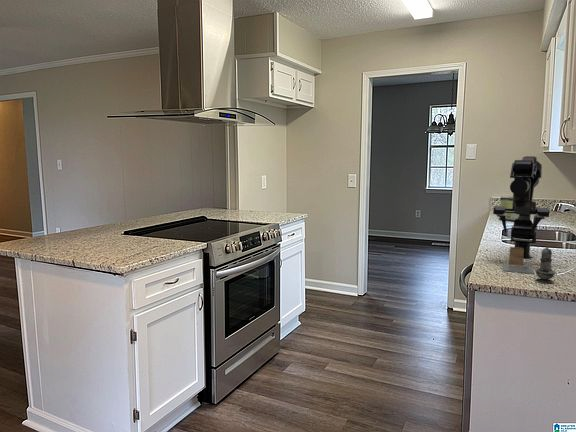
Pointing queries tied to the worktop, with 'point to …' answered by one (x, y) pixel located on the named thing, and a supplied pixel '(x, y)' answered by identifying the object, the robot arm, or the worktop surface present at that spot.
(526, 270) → the slate coaster
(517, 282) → the worktop surface
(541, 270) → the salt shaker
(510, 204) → the protein box
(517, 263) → the walnut block
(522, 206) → the robot arm
